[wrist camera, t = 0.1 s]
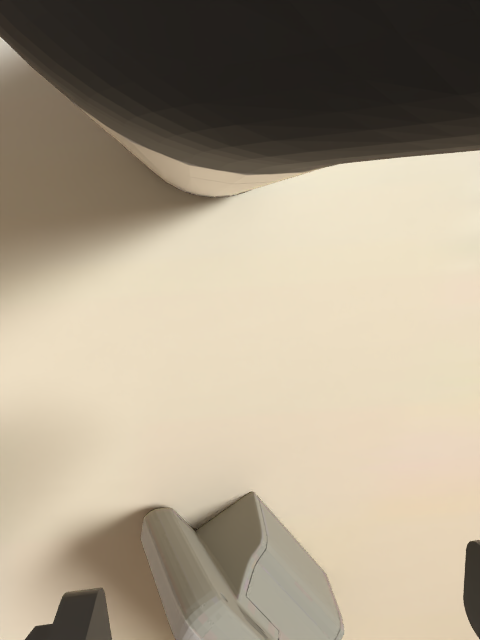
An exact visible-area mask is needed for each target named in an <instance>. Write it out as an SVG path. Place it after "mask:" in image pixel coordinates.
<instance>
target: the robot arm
mask: <svg viewBox="0 0 480 640" xmlns="http://www.w3.org/2000/svg"><path fill="white" fill-rule="evenodd" d="M0 37H1V38H2V39H3V40H5V41H6V42H7V43H8V44H9V45H10V46H11V47H12V48H13V49H14V50H15V51H16V52H17V53H18V54H19V55H20V56H21V57H22V58H23V59H24V60H25V61H26V62H27V63H28V64H29V65H30V66H32V67H33V68H34V69H35V70H36V71H37V72H39V73H40V74H41V75H42V76H43V77H44V78H46V79H47V80H48V81H49V82H50V83H51V84H53V85H54V86H55V87H56V88H57V89H58V90H60V91H61V92H62V93H63V94H64V95H66V96H67V97H68V98H69V99H70V100H71V101H72V102H73V103H74V104H75V105H76V106H77V107H79V108H80V109H81V110H82V111H83V112H84V113H85V114H87V115H88V116H89V117H90V118H91V119H92V120H94V121H95V122H96V123H97V124H98V125H99V126H101V127H102V128H103V129H104V130H105V131H106V132H107V133H109V134H110V135H111V136H113V137H114V138H115V139H116V140H117V141H119V142H120V143H121V144H122V145H123V146H124V147H125V148H127V149H128V150H129V151H130V152H131V153H132V154H133V155H135V156H136V157H137V158H138V159H139V160H140V161H142V162H143V163H144V164H145V165H146V166H147V167H148V168H149V169H150V170H152V171H153V172H154V173H156V174H157V175H158V176H159V177H160V178H162V179H163V180H164V181H165V182H167V183H169V184H171V185H173V186H174V187H176V188H177V189H179V190H182V191H184V192H187V193H190V194H191V193H192V194H194V195H198V196H206V197H227V196H233V195H238V194H241V193H245V192H248V191H250V190H252V189H255V188H259V187H262V186H265V185H269V184H272V183H275V182H279V181H282V180H285V179H288V178H292V177H295V176H298V175H302V174H305V173H308V172H312V171H314V170H318V169H321V168H324V167H329V166H333V165H337V164H343V163H351V162H361V161H370V160H380V159H389V158H399V157H410V156H421V155H432V154H443V153H455V152H466V151H476V150H480V0H0ZM463 600H464V607H465V611H466V614H467V617H468V620H469V622H470V624H471V626H472V628H473V630H474V631H475V633H476V635H477V636H478V637H479V639H480V540H476V541H470V542H469V543H468V544H467V548H466V561H465V578H464V595H463ZM25 640H112V637H111V630H110V624H109V617H108V611H107V604H106V598H105V593H104V590H103V588H97V589H89V590H81V591H73V592H66V593H65V594H64V595H63V597H62V599H61V602H60V605H59V607H58V610H57V613H56V616H55V619H54V622H53V624H48V625H41V626H35V628H34V629H33V630H32V631H31V632H30V634H29V635H28V636H27V637H26V639H25Z"/></svg>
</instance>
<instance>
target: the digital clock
mask: <svg viewBox="0 0 480 640" xmlns="http://www.w3.org/2000/svg"><path fill="white" fill-rule="evenodd" d="M141 542H142V545H143V548H144V551H145V554H146V557H147V560H148V563H149V566H150V569H151V572H152V575H153V578H154V581H155V584H156V587H157V590H158V593H159V596H160V598H161V601H162V604H163V607H164V610H165V613H166V616H167V619H168V622H169V625H170V627H171V630H172V633H173V635H174V637H175V640H341V639H342V637H343V635H344V624H343V620H342V616H341V613H340V610H339V608H338V605H337V602H336V599H335V596H334V594H333V591H332V588H331V585H330V583H329V580H328V577H327V574H326V573H325V572H324V571H323V570H322V569H321V567H320V566H319V565H318V564H317V563H316V562H315V561H314V559H313V558H312V557H311V556H310V555H309V554H308V553H307V552H306V550H305V549H304V548H303V547H302V546H301V545H300V544H299V542H298V541H297V540H296V539H295V538H294V537H293V536H292V535H291V533H290V532H289V531H288V530H287V529H286V528H285V527H284V525H283V524H282V523H281V522H280V521H279V520H278V519H277V518H276V516H275V515H274V514H273V513H272V512H271V511H270V510H269V508H268V507H267V506H266V505H265V504H264V503H263V502H262V501H261V499H260V498H259V497H258V496H257V495H256V494H255V493H254V492H250V493H248V494H247V495H245V496H244V497H243V498H241V499H240V500H238V501H237V502H236V503H234V504H233V505H231V506H230V507H229V508H227V509H226V510H224V511H223V512H221V513H220V514H219V515H217V516H216V517H214V518H213V519H212V520H210V521H209V522H207V523H206V524H205V525H203V526H202V527H200V528H199V529H198V530H196V531H194V530H193V529H192V528H191V527H190V526H189V525H188V524H187V523H186V522H185V521H184V520H183V519H182V518H181V517H180V515H179V514H178V513H177V512H176V511H174V510H173V509H172V508H159V509H155V510H153V511H150V512H149V513H148V514H147V515H146V516H144V520H143V525H142V531H141Z"/></svg>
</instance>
